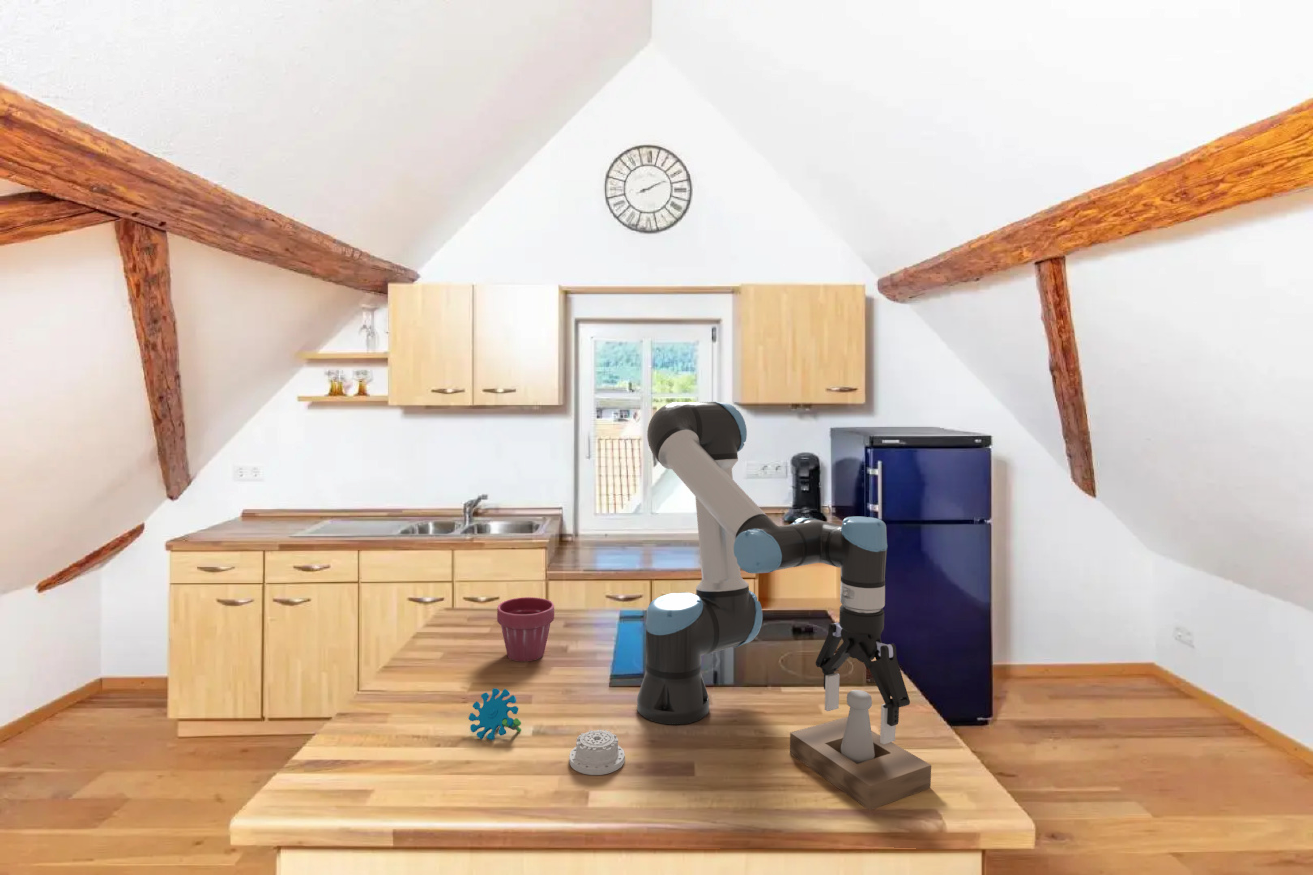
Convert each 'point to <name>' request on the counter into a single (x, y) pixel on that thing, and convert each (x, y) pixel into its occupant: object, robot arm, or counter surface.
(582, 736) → the mechanical component
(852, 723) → the salt shaker
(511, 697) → the coronavirus model
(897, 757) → the stand
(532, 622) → the plant pot
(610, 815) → the counter surface
